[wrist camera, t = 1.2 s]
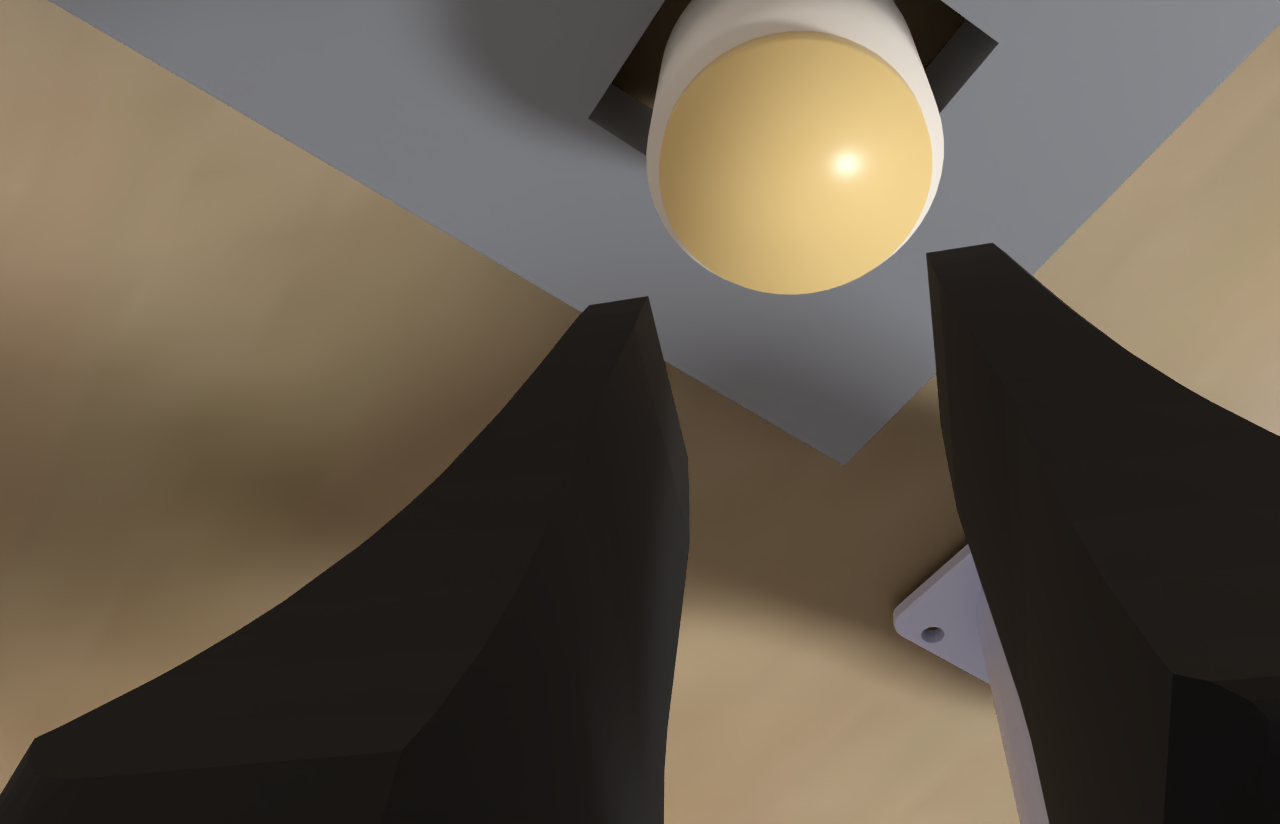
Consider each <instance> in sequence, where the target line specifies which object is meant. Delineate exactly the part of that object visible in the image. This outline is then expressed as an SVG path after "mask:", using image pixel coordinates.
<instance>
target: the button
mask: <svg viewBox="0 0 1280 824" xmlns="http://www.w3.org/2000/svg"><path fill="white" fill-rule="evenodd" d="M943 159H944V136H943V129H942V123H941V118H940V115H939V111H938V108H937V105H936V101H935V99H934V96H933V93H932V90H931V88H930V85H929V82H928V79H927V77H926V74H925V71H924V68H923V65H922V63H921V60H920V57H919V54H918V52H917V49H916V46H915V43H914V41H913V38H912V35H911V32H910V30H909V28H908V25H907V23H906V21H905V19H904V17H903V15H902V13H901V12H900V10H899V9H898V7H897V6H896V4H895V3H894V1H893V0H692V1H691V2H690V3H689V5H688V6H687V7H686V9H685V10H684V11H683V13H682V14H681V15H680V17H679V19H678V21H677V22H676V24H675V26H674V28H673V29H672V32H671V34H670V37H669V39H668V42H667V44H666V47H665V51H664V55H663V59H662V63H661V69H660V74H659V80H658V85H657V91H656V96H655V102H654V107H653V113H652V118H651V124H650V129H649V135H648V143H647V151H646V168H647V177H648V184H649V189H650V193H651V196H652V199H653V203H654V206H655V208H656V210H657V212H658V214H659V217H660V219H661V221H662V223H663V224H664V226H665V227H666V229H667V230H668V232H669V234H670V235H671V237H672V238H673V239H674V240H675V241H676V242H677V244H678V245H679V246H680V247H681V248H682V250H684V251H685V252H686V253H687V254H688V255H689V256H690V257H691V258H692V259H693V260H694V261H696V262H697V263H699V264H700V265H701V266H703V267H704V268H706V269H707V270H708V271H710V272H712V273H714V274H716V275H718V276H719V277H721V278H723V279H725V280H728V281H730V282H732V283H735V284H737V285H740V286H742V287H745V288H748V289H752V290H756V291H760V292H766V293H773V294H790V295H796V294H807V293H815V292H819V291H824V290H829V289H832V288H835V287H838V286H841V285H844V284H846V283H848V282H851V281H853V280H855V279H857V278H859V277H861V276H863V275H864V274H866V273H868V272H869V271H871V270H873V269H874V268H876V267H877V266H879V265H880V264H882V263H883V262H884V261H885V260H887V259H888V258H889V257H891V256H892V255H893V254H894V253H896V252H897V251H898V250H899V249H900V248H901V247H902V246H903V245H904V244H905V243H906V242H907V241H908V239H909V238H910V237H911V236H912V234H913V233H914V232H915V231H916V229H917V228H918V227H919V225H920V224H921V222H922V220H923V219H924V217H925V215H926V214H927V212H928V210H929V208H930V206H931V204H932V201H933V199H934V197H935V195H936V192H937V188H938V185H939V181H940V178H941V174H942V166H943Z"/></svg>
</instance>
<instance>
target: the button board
mask: <svg viewBox="0 0 1280 824" xmlns="http://www.w3.org/2000/svg"><path fill="white" fill-rule="evenodd" d="M49 1H51V2H53V3H54V4H56V5H58V6H59V7H61V8H63V9H65V10H66V11H68V12H70V13H71V14H73V15H75V16H76V17H78V18H80V19H82V20H83V21H85V22H87V23H88V24H90V25H92V26H94V27H95V28H97V29H99V30H100V31H102V32H104V33H105V34H107V35H109V36H111V37H112V38H114V39H116V40H117V41H119V42H121V43H123V44H124V45H126V46H128V47H129V48H131V49H133V50H135V51H136V52H138V53H140V54H141V55H143V56H145V57H146V58H148V59H150V60H152V61H153V62H155V63H157V64H158V65H160V66H162V67H164V68H165V69H167V70H169V71H170V72H172V73H174V74H175V75H177V76H179V77H181V78H182V79H184V80H186V81H187V82H189V83H191V84H193V85H194V86H196V87H198V88H199V89H201V90H203V91H204V92H206V93H208V94H210V95H211V96H213V97H215V98H216V99H218V100H220V101H222V102H223V103H225V104H227V105H228V106H230V107H232V108H234V109H235V110H237V111H239V112H240V113H242V114H244V115H245V116H247V117H249V118H251V119H252V120H254V121H256V122H257V123H259V124H261V125H263V126H264V127H266V128H268V129H269V130H271V131H273V132H274V133H276V134H278V135H280V136H281V137H283V138H285V139H286V140H288V141H290V142H292V143H293V144H295V145H297V146H298V147H300V148H302V149H303V150H305V151H307V152H309V153H310V154H312V155H314V156H315V157H317V158H319V159H321V160H322V161H324V162H326V163H327V164H329V165H331V166H332V167H334V168H336V169H338V170H339V171H341V172H343V173H344V174H346V175H348V176H350V177H351V178H353V179H355V180H356V181H358V182H360V183H362V184H363V185H365V186H367V187H368V188H370V189H372V190H373V191H375V192H377V193H379V194H380V195H382V196H384V197H385V198H387V199H389V200H391V201H392V202H394V203H396V204H397V205H399V206H401V207H402V208H404V209H406V210H408V211H409V212H411V213H413V214H414V215H416V216H418V217H420V218H421V219H423V220H425V221H426V222H428V223H430V224H431V225H433V226H435V227H437V228H438V229H440V230H442V231H443V232H445V233H447V234H449V235H450V236H452V237H454V238H455V239H457V240H459V241H461V242H462V243H464V244H466V245H467V246H469V247H471V248H472V249H474V250H476V251H478V252H479V253H481V254H483V255H484V256H486V257H488V258H490V259H491V260H493V261H495V262H496V263H498V264H500V265H501V266H503V267H505V268H507V269H508V270H510V271H512V272H513V273H515V274H517V275H519V276H520V277H522V278H524V279H525V280H527V281H529V282H530V283H532V284H534V285H536V286H537V287H539V288H541V289H542V290H544V291H546V292H548V293H549V294H551V295H553V296H554V297H556V298H558V299H559V300H561V301H563V302H565V303H566V304H568V305H570V306H571V307H573V308H575V309H577V310H578V311H580V312H583V311H584V310H585V309H586V308H587V307H588V306H589V305H593V304H600V303H606V302H612V301H619V300H625V299H632V298H638V297H645V296H648V297H649V301H650V305H651V309H652V313H653V317H654V321H655V325H656V330H657V334H658V338H659V342H660V346H661V350H662V354H663V358H664V361H665V362H667V363H669V364H670V365H672V366H674V367H676V368H677V369H679V370H681V371H682V372H684V373H686V374H687V375H689V376H691V377H693V378H694V379H696V380H698V381H699V382H701V383H703V384H705V385H706V386H708V387H710V388H711V389H713V390H715V391H717V392H718V393H720V394H722V395H723V396H725V397H727V398H728V399H730V400H732V401H734V402H735V403H737V404H739V405H740V406H742V407H744V408H746V409H747V410H749V411H751V412H752V413H754V414H756V415H757V416H759V417H761V418H763V419H764V420H766V421H768V422H769V423H771V424H773V425H775V426H776V427H778V428H780V429H781V430H783V431H785V432H786V433H788V434H790V435H792V436H793V437H795V438H797V439H798V440H800V441H802V442H804V443H805V444H807V445H809V446H810V447H812V448H814V449H815V450H817V451H819V452H821V453H822V454H824V455H826V456H827V457H829V458H831V459H833V460H834V461H836V462H838V463H839V464H841V465H843V466H845V465H846V464H847V462H848V461H849V460H850V459H851V458H852V457H853V456H854V455H855V454H856V453H857V452H858V451H859V450H860V449H861V448H862V447H863V446H864V445H865V444H866V443H867V442H868V441H869V440H870V439H871V438H872V437H873V436H874V435H875V434H876V433H877V432H878V431H879V430H880V429H881V428H882V427H883V426H884V425H885V424H886V423H887V422H888V421H889V420H890V419H891V418H892V417H893V416H894V415H895V414H896V413H897V412H898V411H899V410H900V409H901V408H902V407H903V406H904V405H905V404H906V403H907V402H908V401H909V400H910V399H911V398H912V397H913V396H914V395H915V394H916V393H917V392H918V391H919V390H920V389H921V387H922V386H923V385H924V384H925V383H926V382H927V381H928V380H929V379H930V378H931V377H932V376H933V375H934V374H935V373H936V363H935V351H934V340H933V328H932V317H931V305H930V294H929V282H928V270H927V259H926V253H929V252H935V251H942V250H948V249H955V248H961V247H968V246H974V245H981V244H987V243H994V244H995V245H996V246H998V247H999V248H1000V249H1002V250H1003V251H1004V252H1005V253H1007V254H1008V255H1009V256H1010V257H1011V258H1012V259H1014V260H1015V261H1016V262H1017V263H1018V264H1019V265H1020V266H1022V267H1023V268H1024V269H1025V270H1026V271H1027V272H1028V273H1030V274H1031V275H1033V274H1034V273H1035V272H1036V271H1037V270H1038V269H1039V268H1040V267H1041V266H1042V265H1043V264H1044V263H1045V262H1046V261H1047V260H1048V259H1049V258H1050V257H1051V256H1052V255H1053V254H1054V253H1055V252H1056V251H1057V250H1058V249H1059V248H1060V247H1061V246H1062V245H1063V244H1064V243H1065V242H1066V241H1067V240H1068V239H1069V237H1070V236H1071V235H1072V234H1073V233H1074V232H1075V231H1076V230H1077V229H1078V228H1079V227H1080V226H1081V225H1082V224H1083V223H1084V222H1085V221H1086V220H1087V219H1088V218H1089V217H1090V216H1091V215H1092V214H1093V213H1094V212H1095V211H1096V210H1097V209H1098V208H1099V207H1100V206H1101V205H1102V204H1103V203H1104V202H1105V201H1106V200H1107V199H1108V198H1109V197H1110V196H1111V195H1112V194H1113V193H1114V192H1115V191H1116V190H1117V189H1118V188H1119V187H1120V186H1121V185H1122V184H1123V183H1124V182H1125V181H1126V180H1127V179H1128V178H1129V177H1130V176H1131V175H1132V174H1133V173H1134V172H1135V171H1136V170H1137V169H1138V168H1139V167H1140V166H1141V165H1142V164H1143V162H1144V161H1145V160H1146V159H1147V158H1148V157H1149V156H1150V155H1151V154H1152V153H1153V152H1154V151H1155V150H1156V149H1157V148H1158V147H1159V146H1160V145H1161V144H1162V143H1163V142H1164V141H1165V140H1166V139H1167V138H1168V137H1169V136H1170V135H1171V134H1172V133H1173V132H1174V131H1175V130H1176V129H1177V128H1178V127H1179V126H1180V125H1181V124H1182V123H1183V122H1184V121H1185V120H1186V119H1187V118H1188V117H1189V116H1190V115H1191V114H1192V113H1193V112H1194V111H1195V110H1196V109H1197V108H1198V107H1199V106H1200V105H1201V104H1202V103H1203V102H1204V101H1205V100H1206V99H1207V98H1208V97H1209V96H1210V95H1211V94H1212V93H1213V92H1214V91H1215V90H1216V89H1217V87H1218V86H1219V85H1220V84H1221V83H1222V82H1223V81H1224V80H1225V79H1226V78H1227V77H1228V76H1229V75H1230V74H1231V73H1232V72H1233V71H1234V70H1235V69H1236V68H1237V67H1238V66H1239V65H1240V64H1241V63H1242V62H1243V61H1244V60H1245V59H1246V58H1247V57H1248V56H1249V55H1250V54H1251V53H1252V52H1253V51H1254V50H1255V49H1256V48H1257V47H1258V46H1259V45H1260V44H1261V43H1262V42H1263V41H1264V40H1265V39H1266V38H1267V37H1268V36H1269V35H1270V34H1271V33H1272V32H1273V31H1274V30H1275V29H1276V28H1277V27H1278V26H1279V25H1280V0H941V1H943V2H944V3H945V4H947V5H948V6H949V7H951V8H952V9H953V10H955V11H956V12H957V13H959V14H960V15H962V16H963V17H964V18H966V20H965V21H964V23H963V24H962V25H961V26H960V28H959V29H958V30H957V31H956V32H955V34H954V35H953V36H952V37H951V39H950V40H949V41H948V42H947V43H946V45H945V46H944V47H943V48H942V50H941V51H940V52H939V53H938V55H937V56H936V57H935V58H934V59H933V61H932V62H931V63H930V64H929V66H928V67H927V68H926V69H925V70H924V71H925V74H926V77H927V79H928V82H929V85H930V88H931V90H932V93H933V96H934V99H935V101H936V105H937V108H938V111H939V115H940V118H941V123H942V129H943V136H944V159H943V166H942V174H941V178H940V181H939V185H938V188H937V192H936V195H935V197H934V199H933V201H932V204H931V206H930V208H929V210H928V212H927V214H926V215H925V217H924V219H923V220H922V222H921V224H920V225H919V227H918V228H917V229H916V231H915V232H914V233H913V234H912V236H911V237H910V238H909V239H908V241H907V242H906V243H905V244H904V245H903V246H902V247H901V248H900V249H899V250H898V251H897V252H896V253H894V254H893V255H892V256H891V257H889V258H888V259H887V260H885V261H884V262H883V263H882V264H880V265H879V266H877V267H876V268H874V269H873V270H871V271H869V272H868V273H866V274H864V275H863V276H861V277H859V278H857V279H855V280H853V281H851V282H848V283H846V284H844V285H841V286H838V287H835V288H832V289H829V290H824V291H819V292H815V293H807V294H796V295H790V294H773V293H766V292H760V291H756V290H752V289H748V288H745V287H742V286H740V285H737V284H735V283H732V282H730V281H728V280H725V279H723V278H721V277H719V276H718V275H716V274H714V273H712V272H710V271H708V270H707V269H706V268H704V267H703V266H701V265H700V264H699V263H697V262H696V261H694V260H693V259H692V258H691V257H690V256H689V255H688V254H687V253H686V252H685V251H684V250H682V248H681V247H680V246H679V245H678V244H677V242H676V241H675V240H674V239H673V238H672V237H671V235H670V234H669V232H668V230H667V229H666V227H665V226H664V224H663V223H662V221H661V219H660V217H659V214H658V212H657V210H656V208H655V206H654V203H653V199H652V196H651V193H650V189H649V184H648V177H647V168H646V151H647V143H648V135H649V129H650V124H651V118H652V113H653V110H651V109H650V108H648V107H647V106H645V105H644V104H642V103H640V102H639V101H637V100H636V99H634V98H633V97H631V96H630V95H628V94H627V93H625V92H624V91H622V90H621V89H619V88H617V87H616V86H614V85H613V84H611V82H612V81H613V79H614V78H615V76H616V75H617V73H618V72H619V70H620V69H621V67H622V65H623V64H624V62H625V61H626V59H627V58H628V56H629V55H630V53H631V52H632V50H633V49H634V47H635V45H636V44H637V42H638V41H639V39H640V38H641V36H642V35H643V33H644V32H645V30H646V28H647V27H648V25H649V24H650V22H651V21H652V19H653V18H654V16H655V15H656V13H657V12H658V10H659V8H660V7H661V5H662V4H663V2H664V1H665V0H49Z"/></svg>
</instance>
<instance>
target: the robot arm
mask: <svg viewBox="0 0 1280 824" xmlns="http://www.w3.org/2000/svg"><path fill="white" fill-rule="evenodd" d="M926 259H927V270H928V282H929V294H930V305H931V317H932V328H933V340H934V351H935V363H936V374H937V386H938V398H939V409H940V421H941V429H942V434H943V439H944V445H945V450H946V455H947V460H948V466H949V471H950V476H951V481H952V486H953V491H954V496H955V501H956V506H957V511H958V514H959V517H960V521H961V524H962V527H963V530H964V533H965V536H966V539H967V542H968V544H967V545H966V546H965V547H964V548H963V549H961V550H960V551H959V552H958V553H957V554H956V555H955V556H953V557H952V558H951V559H950V560H949V561H948V562H947V563H945V564H944V565H943V566H942V567H941V568H940V569H939V570H938V571H936V572H935V573H934V574H933V575H932V576H931V577H930V578H928V579H927V580H926V581H925V582H924V583H923V584H922V585H920V586H919V587H918V588H917V589H916V590H915V591H914V592H913V593H911V594H910V595H909V596H908V597H907V598H906V599H905V600H903V601H902V602H901V603H900V604H899V605H898V606H897V607H896V608H895V610H894V611H893V623H894V628H895V630H896V632H897V633H898V634H899V635H901V636H902V637H904V638H906V639H907V640H909V641H911V642H913V643H915V644H917V645H918V646H920V647H922V648H924V649H926V650H928V651H929V652H931V653H933V654H935V655H937V656H939V657H940V658H942V659H944V660H946V661H948V662H950V663H951V664H953V665H955V666H957V667H959V668H960V669H962V670H964V671H966V672H968V673H970V674H971V675H973V676H975V677H977V678H979V679H981V680H982V681H984V682H986V683H988V684H990V687H991V692H992V696H993V701H994V705H995V710H996V715H997V719H998V724H999V728H1000V733H1001V737H1002V742H1003V747H1004V751H1005V756H1006V760H1007V765H1008V769H1009V774H1010V778H1011V783H1012V788H1013V792H1014V797H1015V801H1016V806H1017V810H1018V815H1019V819H1020V824H1280V436H1278V435H1276V434H1274V433H1272V432H1269V431H1267V430H1266V429H1264V428H1262V427H1260V426H1258V425H1256V424H1254V423H1252V422H1250V421H1248V420H1246V419H1244V418H1242V417H1240V416H1238V415H1236V414H1234V413H1232V412H1230V411H1228V410H1226V409H1224V408H1222V407H1220V406H1218V405H1216V404H1214V403H1213V402H1211V401H1209V400H1207V399H1205V398H1203V397H1202V396H1200V395H1198V394H1196V393H1195V392H1193V391H1191V390H1189V389H1188V388H1186V387H1184V386H1182V385H1181V384H1179V383H1177V382H1176V381H1174V380H1173V379H1171V378H1170V377H1168V376H1166V375H1165V374H1163V373H1162V372H1160V371H1158V370H1157V369H1155V368H1154V367H1152V366H1151V365H1149V364H1147V363H1146V362H1144V361H1143V360H1141V359H1140V358H1138V357H1136V356H1135V355H1133V354H1132V353H1130V352H1129V351H1127V350H1126V349H1125V348H1123V347H1122V346H1120V345H1119V344H1118V343H1116V342H1115V341H1114V340H1112V339H1111V338H1110V337H1108V336H1107V335H1106V334H1104V333H1103V332H1102V331H1100V330H1099V329H1098V328H1096V327H1095V326H1094V325H1092V324H1091V323H1090V322H1088V321H1087V320H1086V319H1084V318H1083V317H1081V316H1080V315H1079V314H1078V313H1076V312H1075V311H1074V310H1073V309H1071V308H1070V307H1069V306H1068V305H1066V304H1065V303H1064V302H1063V301H1062V300H1060V299H1059V298H1058V297H1057V296H1056V295H1054V294H1053V293H1052V292H1051V291H1050V290H1048V289H1047V288H1046V287H1045V286H1044V285H1042V284H1041V283H1040V282H1039V281H1038V280H1037V279H1035V278H1034V277H1033V276H1032V275H1031V274H1030V273H1028V272H1027V271H1026V270H1025V269H1024V268H1023V267H1022V266H1020V265H1019V264H1018V263H1017V262H1016V261H1015V260H1014V259H1012V258H1011V257H1010V256H1009V255H1008V254H1007V253H1005V252H1004V251H1003V250H1002V249H1000V248H999V247H998V246H996V245H995V244H994V243H987V244H981V245H974V246H968V247H961V248H955V249H948V250H942V251H935V252H929V253H926ZM688 551H689V478H688V456H687V452H686V448H685V444H684V440H683V436H682V432H681V428H680V424H679V420H678V416H677V411H676V407H675V403H674V399H673V395H672V391H671V387H670V383H669V379H668V375H667V371H666V366H665V362H664V358H663V354H662V350H661V346H660V342H659V338H658V334H657V330H656V325H655V321H654V317H653V313H652V309H651V305H650V301H649V297H648V296H645V297H638V298H632V299H625V300H619V301H612V302H606V303H600V304H593V305H589V306H588V307H587V308H586V309H585V310H584V311H583V312H582V313H581V314H580V316H579V317H578V318H577V319H576V320H575V322H574V323H573V324H572V325H571V326H570V328H569V329H568V330H567V331H566V333H565V334H564V335H563V336H562V338H561V339H560V340H559V341H558V343H557V344H556V345H555V346H554V348H553V349H552V350H551V351H550V353H549V354H548V355H547V356H546V358H545V359H544V360H543V361H542V363H541V364H540V365H539V366H538V368H537V369H536V370H535V371H534V372H533V374H532V375H531V376H530V377H529V378H528V379H527V381H526V382H525V383H524V384H523V385H522V387H521V388H520V389H519V390H518V391H517V393H516V394H515V395H514V396H513V397H512V399H511V400H510V401H509V402H508V403H507V405H506V406H505V407H504V408H503V409H502V410H501V412H500V413H499V414H498V415H497V416H496V417H495V418H494V419H493V420H492V421H491V422H490V423H489V424H488V425H487V427H486V428H485V429H484V430H483V431H482V432H481V433H480V434H479V435H478V436H477V437H476V438H475V439H474V440H473V441H472V442H471V444H470V445H469V446H468V447H467V448H466V449H465V450H464V451H463V452H462V453H461V454H460V455H459V456H458V457H457V458H456V459H455V460H454V462H453V463H452V464H451V465H450V466H449V467H448V468H447V469H446V470H445V471H444V472H443V473H442V474H441V475H440V476H439V477H438V478H437V479H436V480H435V481H434V482H433V483H432V484H431V485H430V486H428V487H427V488H426V489H425V490H424V491H423V492H422V493H421V494H420V495H419V496H418V497H417V498H415V499H414V500H413V501H412V502H411V503H410V504H409V505H408V506H406V507H405V508H404V509H403V510H402V511H401V512H399V513H398V514H397V515H396V516H395V517H394V518H392V519H391V520H390V521H389V522H388V523H387V524H385V525H384V526H383V527H382V528H381V529H380V530H378V531H377V532H376V533H375V534H374V535H372V536H371V537H370V538H369V539H368V540H366V541H365V542H364V543H363V544H361V545H360V546H359V547H357V548H356V549H355V550H353V551H352V552H351V553H349V554H348V555H346V556H345V557H344V558H342V559H341V560H340V561H338V562H337V563H335V564H334V565H333V566H331V567H330V568H329V569H327V570H326V571H325V572H323V573H322V574H320V575H319V576H318V577H316V578H315V579H314V580H312V581H311V582H309V583H308V584H307V585H305V586H304V587H303V588H301V589H300V590H298V591H297V592H296V593H294V594H293V595H292V596H290V597H289V598H288V599H286V600H285V601H283V602H282V603H280V604H279V605H277V606H276V607H274V608H273V609H271V610H270V611H268V612H266V613H265V614H263V615H262V616H260V617H259V618H257V619H255V620H254V621H252V622H251V623H249V624H248V625H246V626H244V627H243V628H241V629H240V630H238V631H237V632H235V633H233V634H232V635H230V636H228V637H227V638H225V639H223V640H222V641H220V642H218V643H216V644H215V645H213V646H211V647H210V648H208V649H206V650H205V651H203V652H201V653H200V654H198V655H196V656H194V657H193V658H191V659H189V660H188V661H186V662H184V663H182V664H181V665H179V666H177V667H175V668H173V669H172V670H170V671H168V672H166V673H164V674H163V675H161V676H159V677H157V678H155V679H153V680H151V681H149V682H147V683H145V684H143V685H141V686H139V687H138V688H136V689H134V690H132V691H130V692H128V693H126V694H124V695H122V696H120V697H118V698H116V699H114V700H112V701H110V702H108V703H106V704H104V705H102V706H100V707H98V708H96V709H94V710H92V711H90V712H88V713H86V714H84V715H82V716H80V717H78V718H76V719H74V720H72V721H70V722H69V723H67V724H65V725H63V726H60V727H58V728H56V729H54V730H52V731H50V732H48V733H45V734H43V735H41V736H39V737H37V738H35V739H34V741H33V742H32V744H31V745H30V747H29V749H28V750H27V752H26V753H25V755H24V757H23V758H22V760H21V762H20V763H19V765H18V767H17V768H16V770H15V772H14V773H13V775H12V776H11V778H10V780H9V781H8V783H7V785H6V786H5V788H4V790H3V791H2V793H1V795H0V824H664V767H665V754H666V740H667V727H668V719H669V710H670V702H671V694H672V686H673V678H674V669H675V661H676V653H677V645H678V637H679V628H680V620H681V612H682V604H683V595H684V586H685V578H686V569H687V560H688ZM929 627H937V629H935V630H930V631H928V630H925V629H927V628H929Z"/></svg>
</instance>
